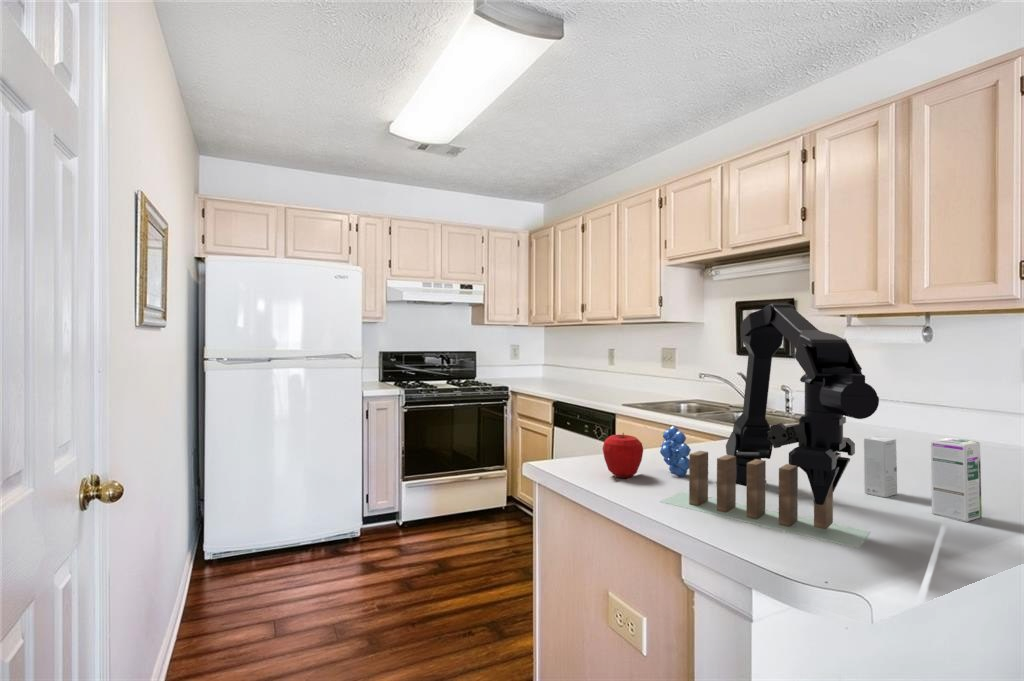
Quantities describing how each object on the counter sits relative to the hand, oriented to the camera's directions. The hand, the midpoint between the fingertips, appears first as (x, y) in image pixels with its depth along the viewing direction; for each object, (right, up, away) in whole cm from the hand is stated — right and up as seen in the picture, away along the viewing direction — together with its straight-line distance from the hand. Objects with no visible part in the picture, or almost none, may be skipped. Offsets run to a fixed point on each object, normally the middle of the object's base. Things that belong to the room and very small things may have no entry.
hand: (823, 501), depth 89 cm
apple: (-27, -6, +37) cm, 46 cm away
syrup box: (+32, -6, +10) cm, 34 cm away
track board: (-8, -6, +8) cm, 12 cm away
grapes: (-14, -6, +39) cm, 42 cm away
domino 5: (0, -4, 0) cm, 4 cm away
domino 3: (-8, -5, +8) cm, 12 cm away
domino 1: (-16, -5, +15) cm, 23 cm away
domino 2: (-12, -5, +11) cm, 17 cm away
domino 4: (-4, -5, +4) cm, 7 cm away
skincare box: (+28, -6, +25) cm, 38 cm away
